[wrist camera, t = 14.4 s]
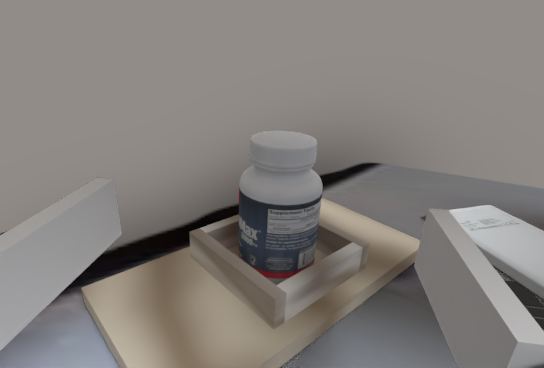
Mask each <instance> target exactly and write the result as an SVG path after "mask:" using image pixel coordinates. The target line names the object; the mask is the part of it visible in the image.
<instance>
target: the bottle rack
mask: <svg viewBox="0 0 544 368" xmlns="http://www.w3.org/2000/svg"><path fill="white" fill-rule="evenodd" d="M189 234H190V246H189V247H187V248H184V249H181V250H179V251H176V252H174V253H171V254H168V255H166V256H163V257H161V258H158V259H155V260H153V261H150V262H148V263H145V264H142V265H140V266H137V267H134V268H132V269H129V270H127V271H124V272H121V273H119V274H116V275H114V276H111V277H108V278H106V279H103V280H100V281H98V282H95V283H93V284H90V285H87V286H85V287H82V288H81V289H82V294H83V299H84V304H85V306H86V307H87V309H88V311H89V313H90V315H91V316H92V318H93V320H94V322H95V324H96V325H97V327H98V329H99V331H100V332H101V334H102V336H103V338H104V340H105V341H106V343H107V345H108V347H109V349H110V350H111V352H112V354H113V356H114V358H115V359H116V361H117V363H118V365H119V367H120V368H280V367H281V366H282V365H284V364H285V363H286V362H287V361H289V360H290V359H291V358H293V357H294V356H295V355H296V354H298V353H299V352H300V351H301V350H303V349H304V348H305V347H307V346H308V345H309V344H310V343H312V342H313V341H314V340H316V339H317V338H318V337H319V336H321V335H322V334H323V333H325V332H326V331H327V330H328V329H330V328H331V327H332V326H334V325H335V324H336V323H337V322H339V321H340V320H341V319H342V318H344V317H345V316H346V315H348V314H349V313H350V312H351V311H353V310H354V309H355V308H357V307H358V306H359V305H360V304H362V303H363V302H364V301H366V300H367V299H368V298H369V297H371V296H372V295H373V294H375V293H376V292H377V291H378V290H380V289H381V288H382V287H383V286H385V285H386V284H387V283H389V282H390V281H391V280H392V279H394V278H395V277H396V276H398V275H399V274H400V273H401V272H403V271H404V270H405V269H407V268H408V267H409V266H410V265H412V264H413V263H414V262H415V260H416V256H417V252H418V248H419V244H420V240H418V239H416V238H413V237H411V236H409V235H407V234H404V233H402V232H400V231H397V230H395V229H393V228H391V227H388V226H386V225H384V224H381V223H379V222H377V221H374V220H372V219H370V218H368V217H365V216H363V215H361V214H358V213H356V212H354V211H351V210H349V209H347V208H345V207H342V206H340V205H338V204H335V203H333V202H331V201H329V200H326V199H324V198H322V199H321V207H320V215H319V224H318V234H317V243H316V252H315V260H314V264H313V265H311V266H310V267H308V268H306V269H304V270H302V271H301V272H299V273H297V274H295V275H294V276H292V277H290V278H288V279H287V280H285V281H283V282H281V283H279V284H278V285H275V284H274V283H272V282H271V281H270V280H268V279H267V278H266V277H264V276H263V275H262V274H260V273H259V272H258V271H256V270H255V269H254V268H252V267H251V266H250V265H248V264H247V263H246V262H244V261H243V260H242V259H240V258H239V257H238V245H239V215H236V216H233V217H230V218H227V219H224V220H222V221H219V222H216V223H213V224H210V225H207V226H205V227H202V228H199V229H196V230H193V231H190V232H189Z"/></svg>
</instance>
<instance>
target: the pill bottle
mask: <svg viewBox="0 0 544 368" xmlns="http://www.w3.org/2000/svg"><path fill="white" fill-rule="evenodd" d="M316 152H317V141H316V139H315V138H313V137H312V136H309V135H306V134H302V133H298V132H289V131H267V132H261V133H257V134H255V135H253V136H252V137H251V140H250V154H249V155H250V162H251V163H252V164H253V166H251V167H249V168H248V169H246V170H245V171H244V172H243V174H242V175H241V178H240V182H239V245H238V257H239V258H240V259H242V260H243V261H244V262H246V263H247V264H248V265H250V266H251V267H252V268H254V269H255V270H256V271H258V272H259V273H260V274H262V275H263V276H264V277H266V278H267V279H268V280H270V281H271V282H272V283H274V284H275V285H278V284H279V283H281V282H283V281H285V280H287V279H288V278H290V277H292V276H294V275H295V274H297V273H299V272H301V271H302V270H304V269H306V268H308V267H310V266H311V265H313V264H314V260H315V252H316V243H317V234H318V224H319V215H320V207H321V199H322V181H321V179H320V177H319V176H318V174H317V173H316V172H314V171H313V170H312V169H310V168H311V167H312V166H313V165H314V163H315V161H316Z"/></svg>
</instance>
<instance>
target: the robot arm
mask: <svg viewBox="0 0 544 368" xmlns="http://www.w3.org/2000/svg"><path fill="white" fill-rule="evenodd" d="M118 209H119V208H118V201H117V194H116V187H115V180H114V179H110V178H99V177H98V178H96V179H94V180H93V181H91V182H89V183H88V184H86V185H84V186H82V187H81V188H79V189H77V190H76V191H74V192H72V193H71V194H69V195H68V196H66V197H64V198H62V199H61V200H59V201H57V202H56V203H54V204H52V205H51V206H49V207H47V208H45V209H44V210H42V211H40V212H39V213H37V214H36V215H34V216H32V217H30V218H29V219H27V220H25V221H24V222H22V223H20V224H19V225H17V226H15V227H14V228H12V229H10V230H9V231H6V232H3V233H1V234H0V350H2V349H3V348H4V347H5V346H6V345H7V344H8V343H9V342H10V341H11V340H12V339H13V338H14V337H15V336H16V335H17V334H18V333H19V332H20V331H21V330H22V329H23V328H25V327H26V326H27V325H28V324H29V323H30V322H31V321H32V320H33V319H34V318H35V317H36V316H37V315H38V314H39V313H40V312H41V311H42V310H43V309H44V308H45V307H46V306H48V305H49V304H50V303H51V302H52V301H53V300H54V299H55V298H56V297H57V296H58V295H59V294H60V293H61V292H62V291H63V290H64V289H65V288H66V287H67V286H68V285H69V284H71V283H72V282H73V281H74V280H75V279H76V278H77V277H78V276H79V275H80V274H81V273H82V272H83V271H84V270H85V269H86V268H87V267H88V266H89V265H90V264H91V263H92V262H94V261H95V260H96V259H97V258H98V257H99V256H100V255H101V254H102V253H103V252H104V251H105V250H106V249H107V248H108V247H109V246H110V245H111V244H112V243H113V242H114V241H115V240H116V239H117V238H119V237H120V236H121V235H122V230H121V223H120V215H119V210H118ZM414 267H415V269H416V272H417V274H418V276H419V279H420V281H421V283H422V286H423V288H424V290H425V293H426V295H427V297H428V300H429V302H430V304H431V307H432V309H433V311H434V314H435V316H436V318H437V321H438V323H439V325H440V328H441V330H442V332H443V335H444V337H445V339H446V341H447V344H448V346H449V348H450V351H451V353H452V355H453V358H454V360H455V362H456V365H457V367H458V368H544V306H543V305H542V304H541V303H540V302H539V300H538V299H537V298H536V297H535V296H534V295H533V294H532V293H531V292H529V291H528V290H527V289H525V288H524V287H522V286H521V285H520V284H518V283H517V282H512V281H504V280H503V279H502V277H501V276H500V275H499V274H498V272H497V271H496V270H495V269H494V267H493V266H492V265H491V263H490V262H489V261H488V260H487V258H486V257H485V256H484V255H483V253H482V252H481V251H480V249H479V248H478V247H477V246H476V244H475V243H474V242H473V241H472V239H471V238H470V237H469V236H468V234H467V233H466V232H465V230H464V229H463V228H462V227H461V225H460V224H459V223H458V222H457V220H456V219H455V218H454V216H453V215H452V214H451V213H450V211H449V210H443V209H432V208H428V211H427V215H426V219H425V223H424V228H423V232H422V236H421V240H420V244H419V248H418V252H417V256H416V260H415V265H414Z"/></svg>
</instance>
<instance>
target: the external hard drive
mask: <svg viewBox="0 0 544 368" xmlns="http://www.w3.org/2000/svg"><path fill="white" fill-rule="evenodd" d="M449 211H450V213H451V214H452V215H453V216H454V218H455V219H456V220H457V222H458V223H459V224H460V225H461V227H462V228H463V229H464V230H465V232H466V233H467V234H468V236H469V237H470V238H471V239H472V241H473V242H474V243H475V244H476V246H477V247H478V248H479V249H480V251H481V252H482V253H483V255H484V256H485V257H486V258H487V260H488V261H489V262H490V263H491V264H492V265H493V266H495V267H496V268H498V269H499V270H501V271H502V272H504V273H505V274H507V275H508V276H510V277H511V278H513V279H514V280H516V281H517V282H519V283H520V284H522V285H523V286H525V287H526V288H528V289H529V290H530V291H532V292H533V293H535V294H536V295H538V296H539V297H541V298H542V299H544V231H543V230H541V229H539V228H537V227H535V226H533V225H530V224H528V223H526V222H524V221H522V220H520V219H518V218H516V217H514V216H512V215H510V214H508V213H506V212H503V211H502V210H500V209H498V208H496V207H493V206H491V205H484V206H477V207H469V208H461V209H452V210H449Z"/></svg>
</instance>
